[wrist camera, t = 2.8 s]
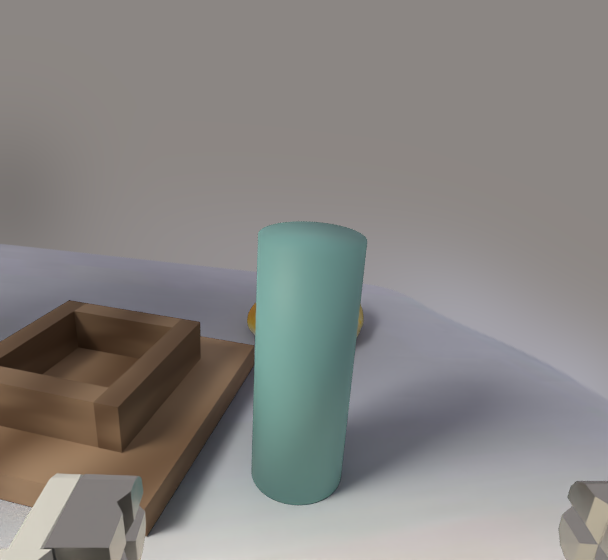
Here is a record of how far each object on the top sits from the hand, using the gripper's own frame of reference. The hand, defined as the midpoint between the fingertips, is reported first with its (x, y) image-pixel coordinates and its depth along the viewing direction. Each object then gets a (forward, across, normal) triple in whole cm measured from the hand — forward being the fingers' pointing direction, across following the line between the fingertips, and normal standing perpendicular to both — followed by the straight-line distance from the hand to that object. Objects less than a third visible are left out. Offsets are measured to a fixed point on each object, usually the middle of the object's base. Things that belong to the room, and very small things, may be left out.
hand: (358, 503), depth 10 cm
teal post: (+12, 0, +10) cm, 16 cm away
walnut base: (+17, +12, +10) cm, 23 cm away
